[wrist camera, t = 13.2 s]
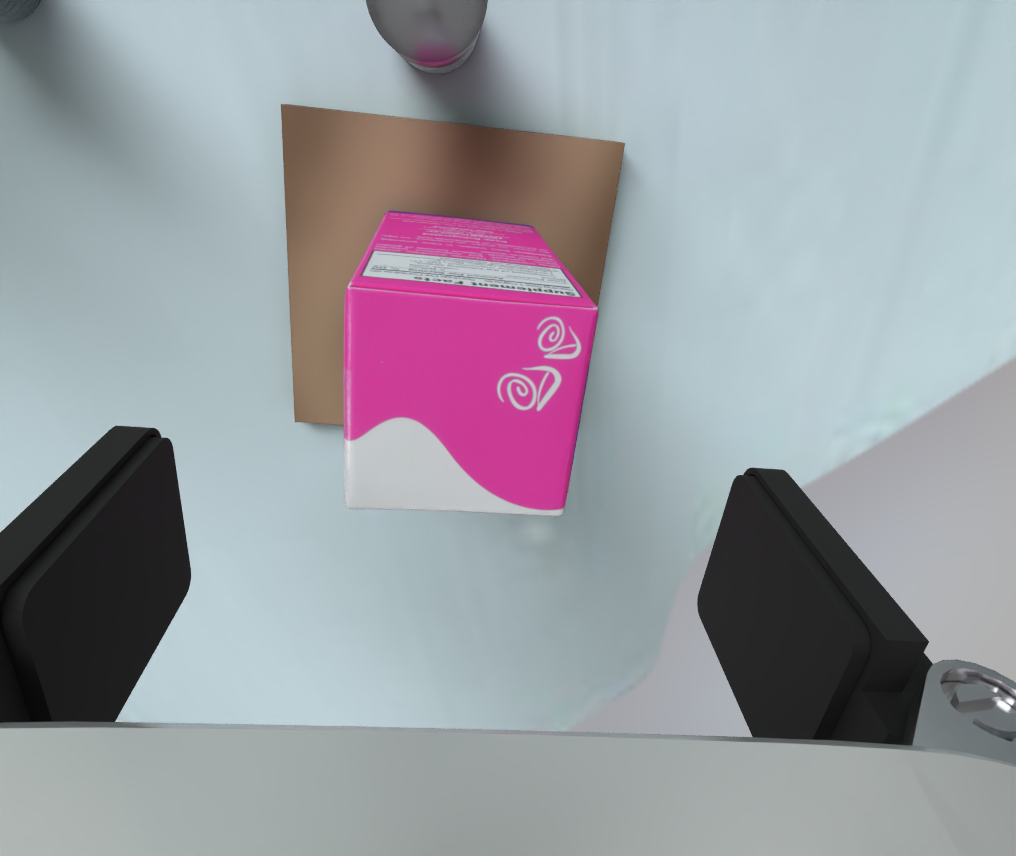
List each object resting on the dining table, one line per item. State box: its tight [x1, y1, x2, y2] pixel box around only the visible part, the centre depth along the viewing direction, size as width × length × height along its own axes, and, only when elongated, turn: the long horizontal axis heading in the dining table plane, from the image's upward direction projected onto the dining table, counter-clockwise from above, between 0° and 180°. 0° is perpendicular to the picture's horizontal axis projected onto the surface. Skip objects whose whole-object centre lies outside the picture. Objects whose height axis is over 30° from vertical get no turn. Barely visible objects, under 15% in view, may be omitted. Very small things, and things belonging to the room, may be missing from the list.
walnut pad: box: [281, 104, 625, 425], centre depth 26 cm, size 12×12×1 cm
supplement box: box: [343, 211, 598, 516], centre depth 20 cm, size 6×6×12 cm
